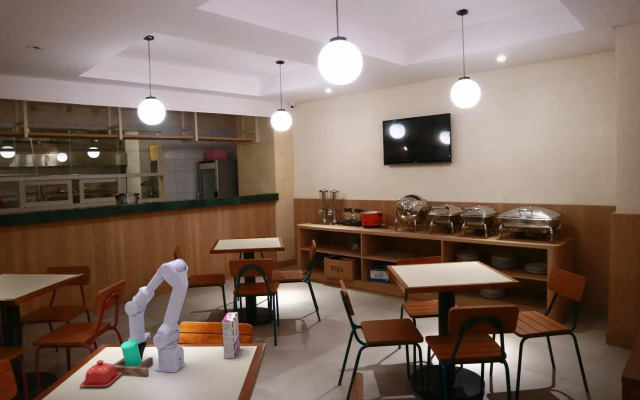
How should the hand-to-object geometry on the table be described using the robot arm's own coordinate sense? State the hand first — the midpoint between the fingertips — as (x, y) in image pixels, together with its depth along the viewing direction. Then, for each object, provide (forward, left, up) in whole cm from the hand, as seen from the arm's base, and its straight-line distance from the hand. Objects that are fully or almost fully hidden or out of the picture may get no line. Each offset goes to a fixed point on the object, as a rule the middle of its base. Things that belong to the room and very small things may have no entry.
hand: (139, 360), depth 191 cm
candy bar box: (-34, -16, -2) cm, 38 cm away
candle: (0, +3, -1) cm, 3 cm away
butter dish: (+5, +16, -2) cm, 17 cm away
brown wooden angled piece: (0, +4, -1) cm, 4 cm away
